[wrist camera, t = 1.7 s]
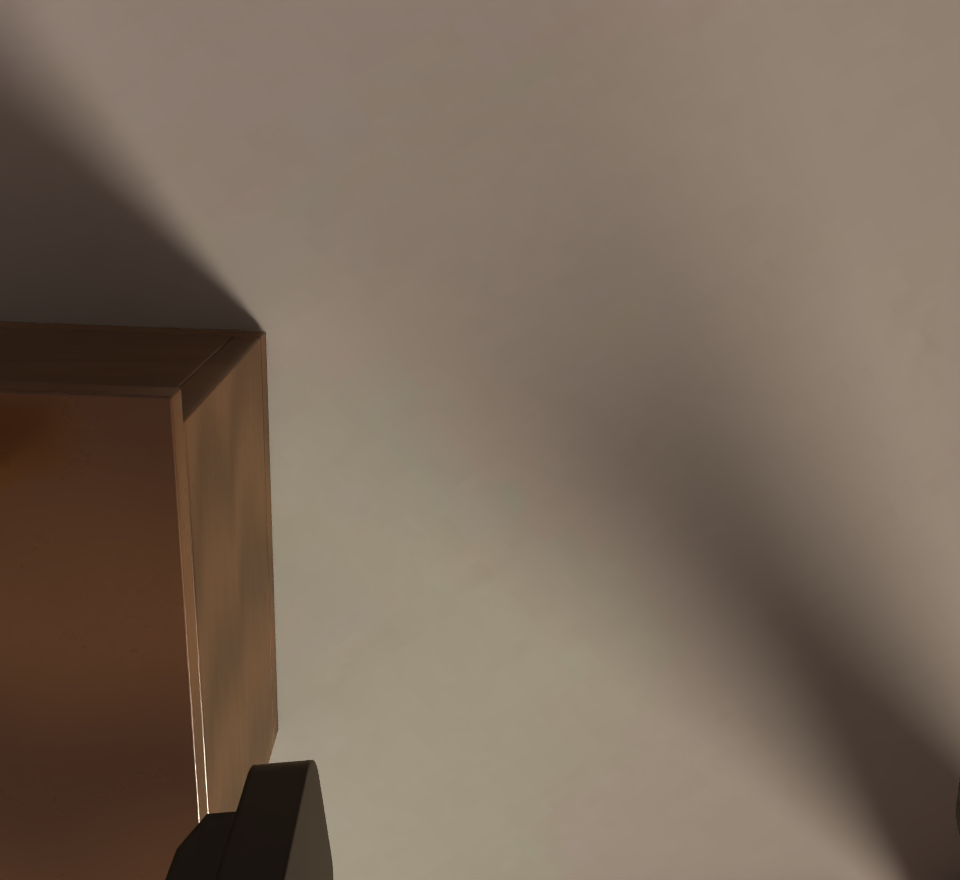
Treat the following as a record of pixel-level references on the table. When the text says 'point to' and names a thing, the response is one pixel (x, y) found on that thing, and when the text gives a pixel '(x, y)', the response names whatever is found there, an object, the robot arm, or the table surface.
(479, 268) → the table surface
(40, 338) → the chest
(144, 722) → the lid
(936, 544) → the table surface
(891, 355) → the table surface
